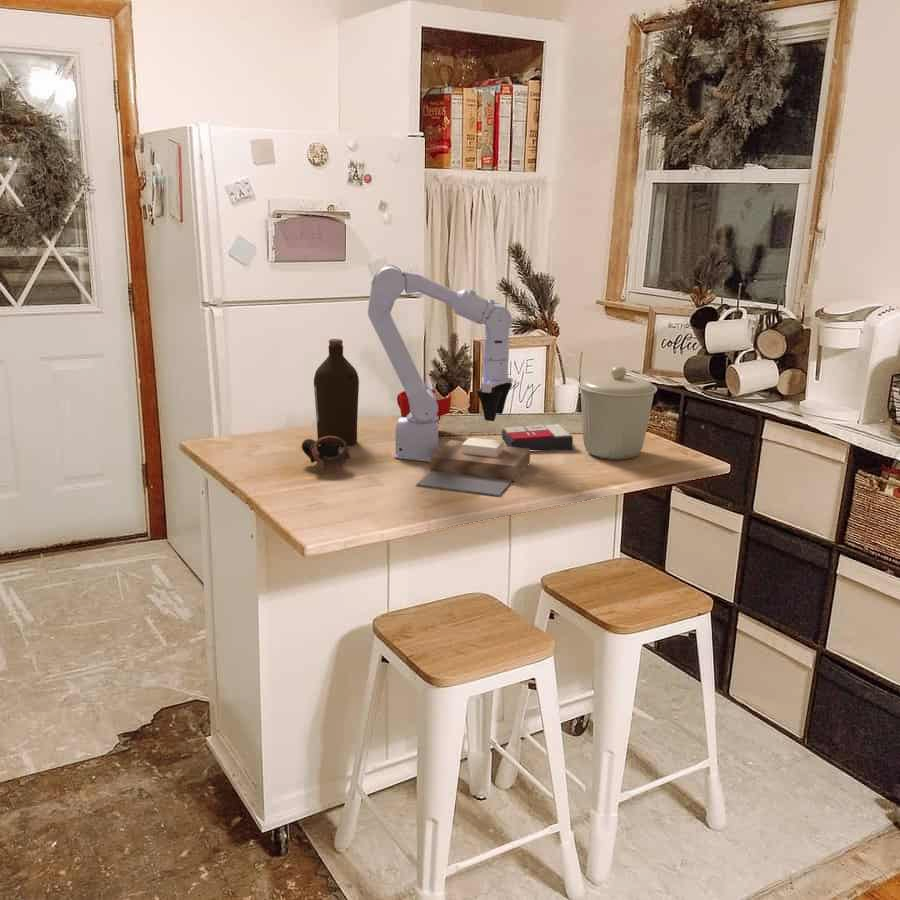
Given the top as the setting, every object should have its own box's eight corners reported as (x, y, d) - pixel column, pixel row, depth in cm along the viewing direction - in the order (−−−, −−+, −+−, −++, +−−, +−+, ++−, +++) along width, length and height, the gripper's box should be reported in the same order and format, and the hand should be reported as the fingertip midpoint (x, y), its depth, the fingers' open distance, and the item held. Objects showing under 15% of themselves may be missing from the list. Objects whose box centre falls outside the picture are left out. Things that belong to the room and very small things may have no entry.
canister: (558, 451, 214) (563, 363, 207) (609, 439, 224) (615, 356, 218) (615, 470, 200) (622, 377, 194) (667, 456, 211) (675, 368, 205)
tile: (461, 453, 198) (461, 444, 198) (469, 445, 204) (469, 437, 203) (496, 457, 196) (496, 448, 195) (503, 449, 201) (503, 441, 201)
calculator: (501, 426, 221) (560, 421, 224) (501, 443, 223) (560, 438, 225) (511, 438, 211) (573, 433, 213) (511, 455, 212) (572, 450, 215)
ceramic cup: (417, 420, 238) (417, 383, 235) (461, 434, 226) (461, 395, 223) (378, 428, 229) (378, 390, 226) (422, 443, 217) (422, 403, 215)
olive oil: (363, 437, 221) (363, 337, 214) (353, 450, 211) (352, 344, 204) (321, 435, 222) (319, 335, 215) (309, 447, 212) (307, 342, 205)
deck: (430, 471, 196) (430, 456, 195) (450, 454, 209) (450, 439, 208) (514, 482, 191) (515, 466, 190) (529, 463, 203) (530, 448, 202)
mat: (416, 485, 187) (416, 484, 187) (431, 472, 196) (431, 470, 196) (499, 496, 182) (499, 494, 181) (511, 482, 191) (511, 480, 190)
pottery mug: (357, 465, 202) (358, 439, 196) (338, 493, 195) (338, 468, 189) (310, 446, 204) (309, 421, 198) (289, 474, 198) (288, 449, 192)
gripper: (504, 365, 194) (502, 426, 198) (520, 354, 207) (518, 411, 211) (473, 363, 196) (471, 423, 200) (491, 352, 209) (489, 408, 213)
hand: (493, 416), depth 206 cm, fingers open, 6 cm apart
